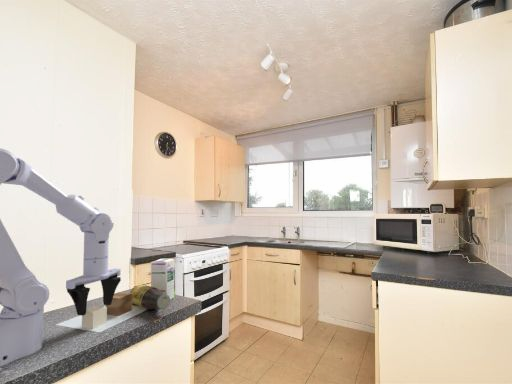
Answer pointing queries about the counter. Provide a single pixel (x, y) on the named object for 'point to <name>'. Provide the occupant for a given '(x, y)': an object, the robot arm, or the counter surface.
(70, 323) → the board
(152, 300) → the sauce bottle
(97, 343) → the counter surface
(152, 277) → the syrup box
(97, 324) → the cream block
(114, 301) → the walnut block
